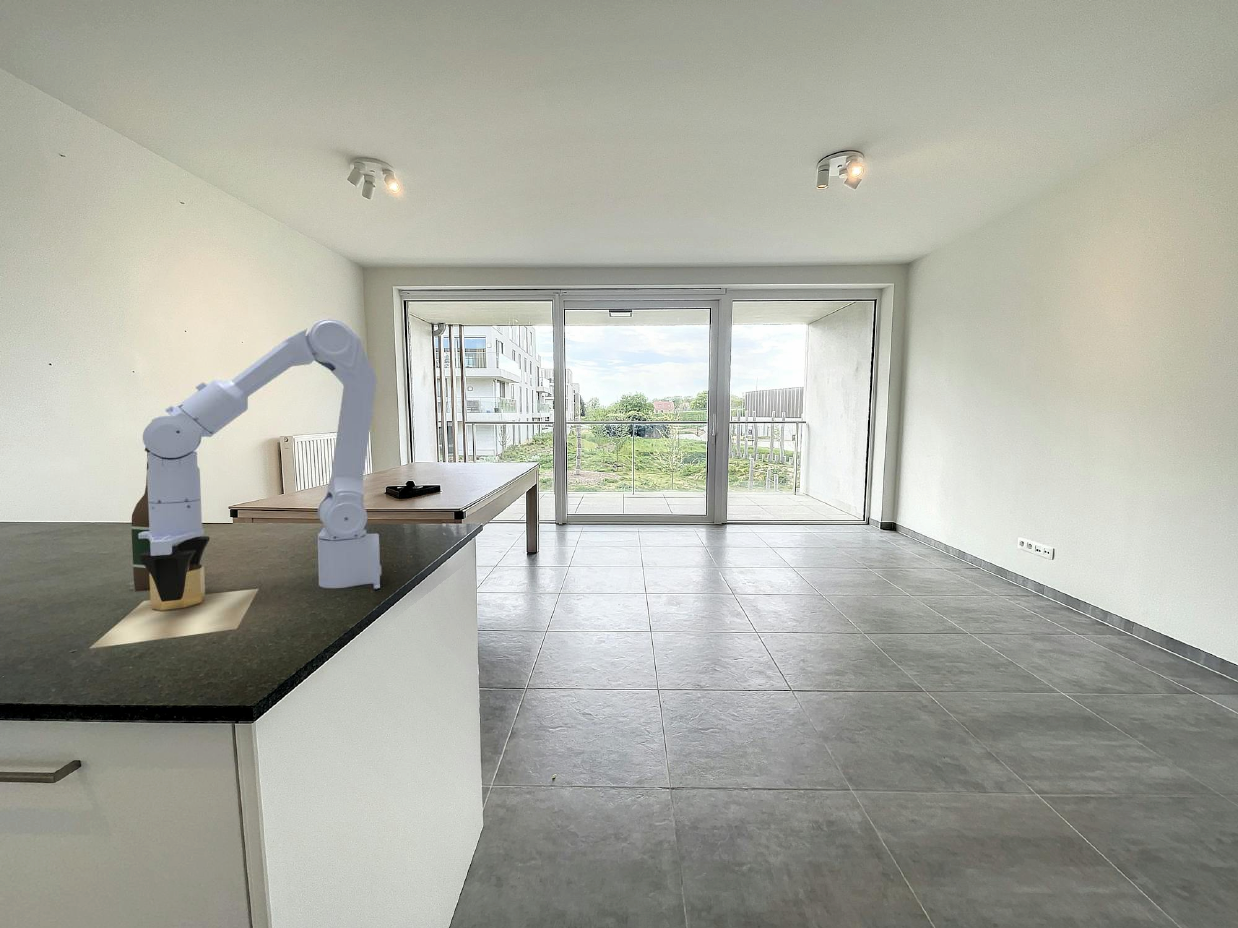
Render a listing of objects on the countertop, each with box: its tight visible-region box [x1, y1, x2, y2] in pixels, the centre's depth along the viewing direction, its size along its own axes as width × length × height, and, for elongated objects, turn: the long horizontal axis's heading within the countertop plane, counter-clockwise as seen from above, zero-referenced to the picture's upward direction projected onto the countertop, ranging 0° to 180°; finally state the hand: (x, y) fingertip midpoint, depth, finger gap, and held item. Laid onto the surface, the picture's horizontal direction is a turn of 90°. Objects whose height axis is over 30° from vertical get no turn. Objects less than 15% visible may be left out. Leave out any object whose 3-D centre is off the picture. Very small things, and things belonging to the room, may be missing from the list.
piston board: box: [88, 566, 260, 650], centre depth 70 cm, size 14×18×6 cm
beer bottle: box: [130, 446, 151, 592], centre depth 83 cm, size 8×8×24 cm
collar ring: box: [149, 563, 206, 610], centre depth 74 cm, size 6×6×5 cm
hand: (179, 593), depth 74 cm, fingers open, 6 cm apart
